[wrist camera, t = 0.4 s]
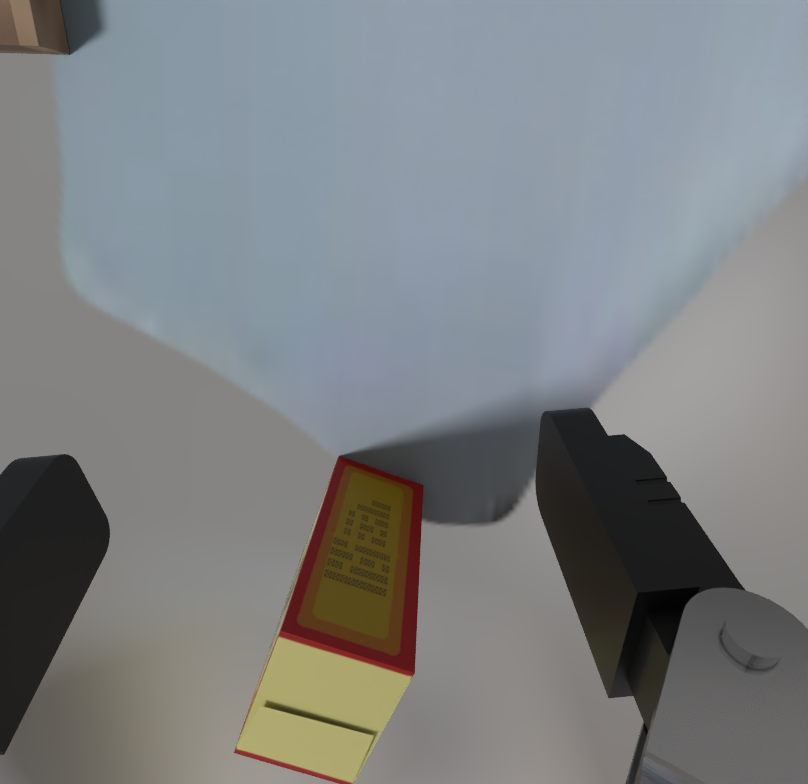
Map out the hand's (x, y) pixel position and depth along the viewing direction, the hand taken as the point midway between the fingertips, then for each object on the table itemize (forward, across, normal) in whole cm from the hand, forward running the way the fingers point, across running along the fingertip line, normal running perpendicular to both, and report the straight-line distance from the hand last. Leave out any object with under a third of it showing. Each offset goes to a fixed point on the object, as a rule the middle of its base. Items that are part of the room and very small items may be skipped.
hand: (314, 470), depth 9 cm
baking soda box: (+22, +2, +24) cm, 33 cm away
